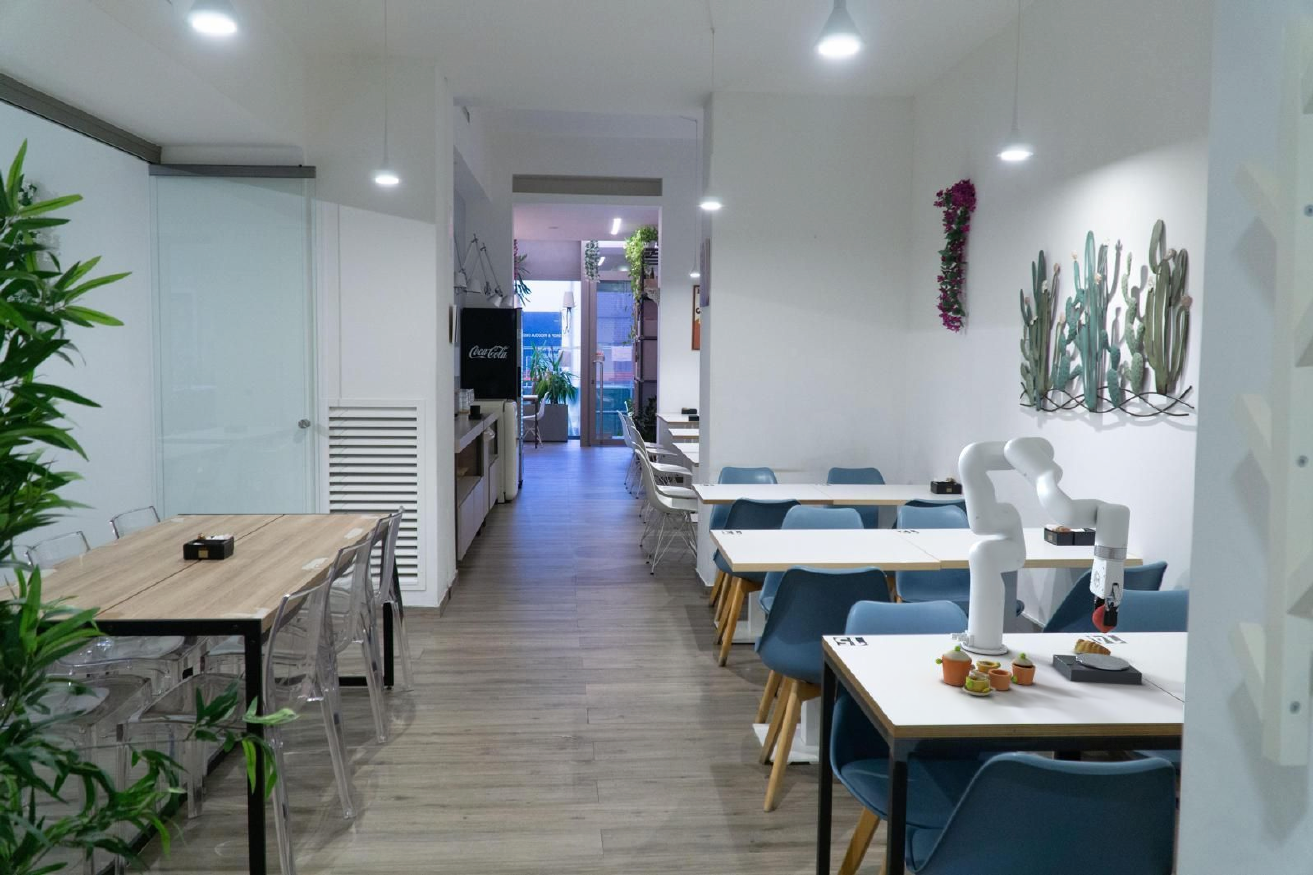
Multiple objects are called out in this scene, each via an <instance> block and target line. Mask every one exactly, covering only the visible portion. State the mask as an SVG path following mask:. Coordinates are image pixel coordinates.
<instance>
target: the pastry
mask: <svg viewBox="0 0 1313 875" xmlns="http://www.w3.org/2000/svg"><path fill="white" fill-rule="evenodd" d="M1073 651H1074V652H1075V653H1076V654H1078V655H1079V654H1086V653H1093V654H1103V655H1109V656H1111V655H1112V651H1111V650H1110V649H1108V648H1107V647H1105V646H1103V645H1102V644H1099V643H1097V642H1095V641H1091V640H1088V639H1087V640H1085V639H1083V638H1078V639H1077V641H1076V642H1075V644H1074V647H1073Z"/></svg>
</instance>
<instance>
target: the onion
mask: <svg viewBox="0 0 1313 875" xmlns="http://www.w3.org/2000/svg"><path fill="white" fill-rule="evenodd" d="M1104 610H1106V607H1105V604H1104V605H1103V606H1101V607H1099V608H1098V609H1097V610H1096V611H1095V612H1094V611H1093V614H1092V622H1093V624H1094V626H1095V627H1096V629H1098V631H1100V633H1102V634H1107V633H1109V632H1111V631H1113V629H1115V628H1116V627H1112V626H1104V625H1103V616H1104ZM1118 621H1119V619H1118V617H1117V624H1118V623H1119V622H1118Z"/></svg>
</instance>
